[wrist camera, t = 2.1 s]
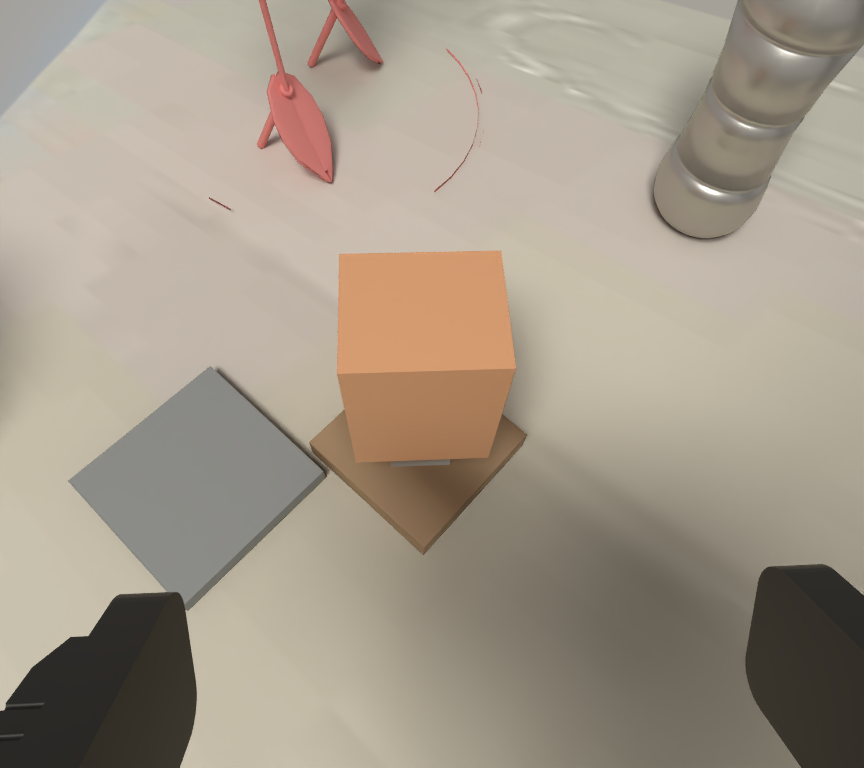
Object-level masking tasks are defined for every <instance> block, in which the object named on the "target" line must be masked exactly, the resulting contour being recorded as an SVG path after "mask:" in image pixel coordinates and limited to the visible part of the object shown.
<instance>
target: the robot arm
mask: <svg viewBox="0 0 864 768" xmlns="http://www.w3.org/2000/svg"><path fill="white" fill-rule="evenodd" d="M746 674H747V679H748V683H749V687H750V690H751V692H752V695H753V697H754V699H755V701H756V703H757V705H758V706H759V708H760V709H761V711H762V712H763V714H764V715H765V716H766V718H767V719H768V721H769V722H770V724H771V725H772V726H773V728H774V729H775V731H776V732H777V734H778V735H779V736H780V738H781V739H782V741H783V742H784V743H785V745H786V746H787V748H788V749H789V751H790V752H791V753H792V755H793V756H794V758H795V759H796V760H797V762H798V763H799V765H800V766H801V768H864V595H862V594H861V593H860V592H859V591H858V590H857V589H856V588H854V587H853V586H852V585H851V584H850V583H849V582H848V581H846V580H845V579H844V578H843V577H842V576H841V575H839V574H838V573H837V572H836V571H835V570H833V569H832V568H831V567H829V566H827V565H823V564H818V565H796V566H774V567H768V568H766V569H765V570H763V572H762V573H761V575H760V578H759V581H758V587H757V593H756V598H755V604H754V610H753V616H752V622H751V628H750V634H749V640H748V646H747V652H746ZM196 701H197V689H196V680H195V673H194V666H193V659H192V652H191V646H190V639H189V632H188V625H187V618H186V612H185V606H184V601H183V598H182V596H181V595H180V593H178V592H164V593H142V594H120V595H118V596H116V597H115V598H114V599H113V600H112V602H111V603H110V604H109V606H108V607H107V609H106V610H105V612H104V614H103V615H102V617H101V618H100V620H99V621H98V623H97V624H96V626H95V627H94V629H93V630H92V632H91V633H90V635H89V636H84V637H70V638H69V639H68V640H67V641H65V642H64V643H63V644H61V645H60V646H59V647H58V648H56V649H55V650H54V651H53V652H51V653H50V654H49V655H47V656H46V657H45V658H44V659H42V660H41V661H40V662H39V663H37V664H36V665H35V666H33V667H32V668H31V670H30V671H29V673H28V674H27V675H26V677H25V678H24V679H23V681H22V682H21V683H20V685H19V686H18V688H17V689H16V690H15V692H14V693H13V694H12V696H11V697H10V698H9V700H8V701H7V702H6V708H5V710H4V711H0V768H180V765H181V763H182V760H183V757H184V754H185V751H186V749H187V746H188V743H189V740H190V737H191V734H192V730H193V725H194V720H195V713H196Z"/></svg>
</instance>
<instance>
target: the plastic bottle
mask: <svg viewBox="0 0 864 768" xmlns="http://www.w3.org/2000/svg"><path fill="white" fill-rule="evenodd" d="M863 45H864V0H738V1H737V5H736V8H735V11H734V14H733V18H732V21H731V24H730V27H729V31H728V34H727V37H726V41H725V44H724V47H723V49H722V52H721V54H720V57H719V59H718V61H717V64H716V66H715V69H714V71H713V75H712V77H711V79H710V81H709V84H708V86H707V88H706V91H705V93H704V96H703V97H702V99H701V101H700V102H699V104H698V106H697V108H696V109H695V111H694V113H693V115H692V116H691V118H690V120H689V122H688V123H687V125H686V127H685V129H684V130H683V132H682V134H681V135H679V137H678V138H677V139H676V140H675V142H674V143H673V144H672V146H671V147H670V149H669V151H668V152H667V154H666V155H665V157H664V158H663V160H662V162H661V163H660V165H659V168H658V172H657V177H656V181H655V185H654V197H655V201H656V204H657V206H658V209H659V211H660V213H661V215H662V216H663V218H664V219H665V220H666V221H667V222H668V223H669V224H670V225H671V226H672V227H674V228H675V229H677V230H678V231H680V232H682V233H684V234H686V235H689V236H693V237H698V238H714V237H719V236H723V235H726V234H729V233H731V232H733V231H735V230H736V229H738V228H739V227H740V226H741V225H742V224H743V223H744V222H745V221H746V220H747V219H748V218H749V217H750V216H751V215H752V214H753V213H754V212H755V211H756V209H757V207H758V205H759V203H760V201H761V199H762V197H763V195H764V193H765V191H766V189H767V186H768V183H769V181H770V178H771V173H772V172H773V170H774V168H775V166H776V164H777V162H778V160H779V158H780V157H781V155H782V153H783V151H784V149H785V147H786V145H787V143H788V142H789V140H790V138H791V136H792V134H793V133H794V131H795V130H796V128H797V127H798V126H799V124H800V123H801V122H802V120H803V119H804V117H805V115H806V114H807V113H808V112H809V111H810V109H811V108H812V107H813V105H814V104H815V102H816V101H817V100H818V98H819V97H820V96H821V94H822V93H823V91H824V90H825V89H826V87H827V86H828V85H829V84H830V83H831V82H832V80H833V79H834V78H835V77H836V76H837V75H838V74H839V72H840V71H841V70H842V69H843V68H844V67H845V65H846V64H847V63H848V62H849V61H850V60H851V59H852V57H853V56H854V55H855V54H856V53H857V52H858V50H859V49H860V48H861V47H862V46H863Z"/></svg>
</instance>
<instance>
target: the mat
mask: <svg viewBox="0 0 864 768" xmlns="http://www.w3.org/2000/svg"><path fill="white" fill-rule="evenodd" d="M325 478H326V477H325V474H324V471H323V470H322V469H321V468H319V467H318V466H317V465H316V464H315V463H314V462H313V461H312V460H311V459H310V458H309V457H308V456H307V455H305V454H304V453H303V452H302V451H301V450H300V449H299V448H298V447H297V446H296V445H295V444H294V443H293V442H292V441H290V440H289V439H288V438H287V437H286V436H285V435H284V434H283V433H282V432H281V431H280V430H279V429H278V428H276V427H275V426H274V425H273V424H272V423H271V422H270V421H269V420H268V419H267V418H266V417H265V416H264V415H262V414H261V413H260V412H259V411H258V410H257V409H256V408H255V407H254V406H253V405H252V404H251V403H250V402H248V401H247V400H246V399H245V398H244V397H243V396H242V395H241V394H240V393H239V392H238V391H237V390H236V389H234V388H233V387H232V386H231V385H230V384H229V383H228V382H227V381H226V380H225V379H224V378H223V377H222V376H220V375H219V374H218V373H217V372H216V371H215V370H214V369H213V368H212V367H211V366H210V367H209V368H207V369H206V370H205V371H204V372H202V373H201V374H200V375H199V376H197V377H196V378H195V379H194V380H193V381H191V382H190V383H189V384H188V385H186V386H185V387H184V388H183V389H181V390H180V391H179V392H178V393H176V394H175V395H174V396H173V397H171V398H170V399H169V400H168V401H167V402H165V403H164V404H163V405H162V406H160V407H159V408H158V409H157V410H155V411H154V412H153V413H152V414H150V415H149V416H148V417H147V418H145V419H144V420H143V421H142V422H141V423H139V424H138V425H137V426H136V427H134V428H133V429H132V430H131V431H129V432H128V433H127V434H126V435H124V436H123V437H122V438H121V439H120V440H118V441H117V442H116V443H115V444H113V445H112V446H111V447H110V448H108V449H107V450H106V451H105V452H103V453H102V454H101V455H100V456H98V457H97V458H96V459H95V460H94V461H92V462H91V463H90V464H89V465H87V466H86V467H85V468H84V469H82V470H81V471H80V472H79V473H77V474H76V475H75V476H74V477H72V478H71V479H70V480H69V481H68V482H69V483H70V484H71V485H72V486H73V487H74V488H75V489H76V490H77V492H78V493H79V494H80V495H81V496H82V497H83V498H84V499H85V501H86V502H87V503H88V504H89V505H90V506H91V507H92V508H93V509H94V511H95V512H96V513H97V514H98V515H99V516H100V517H101V518H102V520H103V521H104V522H105V523H106V524H107V525H108V526H109V527H110V528H111V530H112V531H113V532H114V533H115V534H116V535H117V536H118V537H119V539H120V540H121V541H122V542H123V543H124V544H125V545H126V546H127V548H128V549H129V550H130V551H131V552H132V553H133V554H134V555H135V556H136V558H137V559H138V560H139V561H140V562H141V563H142V564H143V565H144V567H145V568H146V569H147V570H148V571H149V572H150V573H151V574H152V575H153V577H154V578H155V579H156V580H157V581H158V582H159V583H160V584H161V586H162V587H163V588H164V589H165V590H166V591H167V592H178V593H180V595H181V596H182V598H183V601H184V606H185V610H187V611H188V610H189V609H190V608H191V607H192V606H193V605H194V604H195V603H196V602H197V601H198V600H200V599H201V598H202V597H203V596H204V595H205V594H206V593H207V592H208V591H209V590H210V589H211V588H212V587H213V586H214V585H215V584H216V583H217V582H218V581H219V580H220V579H221V578H222V577H223V576H224V575H225V574H226V573H227V572H229V571H230V570H231V569H232V568H233V567H234V566H235V565H236V564H237V563H238V562H239V561H240V560H241V559H242V558H243V557H244V556H245V555H246V554H247V553H248V552H249V551H250V550H251V549H252V548H253V547H254V546H255V545H256V544H258V543H259V542H260V541H261V540H262V539H263V538H264V537H265V536H266V535H267V534H268V533H269V532H270V531H271V530H272V529H273V528H274V527H275V526H276V525H277V524H278V523H279V522H280V521H281V520H282V519H283V518H284V517H285V516H287V515H288V514H289V513H290V512H291V511H292V510H293V509H294V508H295V507H296V506H297V505H298V504H299V503H300V502H301V501H302V500H303V499H304V498H305V497H306V496H307V495H308V494H309V493H310V492H311V491H312V490H313V489H314V488H316V487H317V486H318V485H319V484H320V483H321V482H322V481H323V480H324V479H325Z"/></svg>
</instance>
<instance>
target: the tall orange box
mask: <svg viewBox="0 0 864 768" xmlns="http://www.w3.org/2000/svg"><path fill="white" fill-rule="evenodd" d="M515 370H516V364H515V356H514V348H513V340H512V332H511V324H510V317H509V309H508V301H507V293H506V285H505V277H504V269H503V262H502V254H501V251H463V252H415V253H367V254H339V298H338V355H337V376H338V380H339V385H340V390H341V394H342V399H343V404H344V409H345V413H346V418H347V423H348V427H349V432H350V437H351V442H352V446H353V451H354V456H355V461H356V463H362V462H388V461H414V460H441V459H467V458H488V457H489V454H490V451H491V447H492V444H493V441H494V438H495V435H496V431H497V428H498V425H499V422H500V418H501V415H502V412H503V409H504V406H505V402H506V399H507V396H508V393H509V390H510V386H511V383H512V380H513V377H514V374H515Z"/></svg>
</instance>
